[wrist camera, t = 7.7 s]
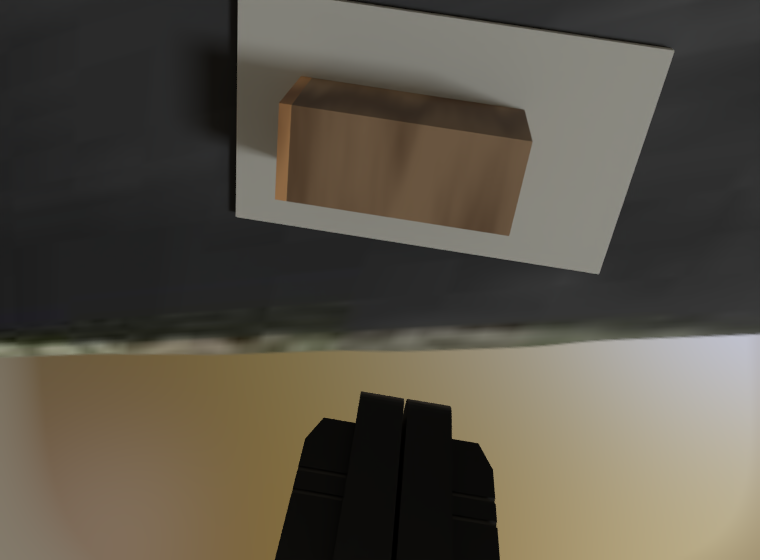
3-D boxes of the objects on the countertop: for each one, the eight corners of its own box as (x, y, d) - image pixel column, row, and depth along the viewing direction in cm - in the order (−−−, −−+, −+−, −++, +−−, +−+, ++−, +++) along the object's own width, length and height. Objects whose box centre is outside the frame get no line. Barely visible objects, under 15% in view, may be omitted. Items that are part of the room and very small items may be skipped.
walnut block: (504, 195, 38) (295, 163, 39) (524, 109, 36) (301, 75, 36) (509, 236, 34) (275, 199, 34) (532, 141, 31) (278, 103, 32)
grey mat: (238, 213, 41) (235, 216, 41) (240, -16, 35) (238, -14, 34) (597, 270, 41) (598, 274, 40) (672, 48, 34) (674, 50, 33)
